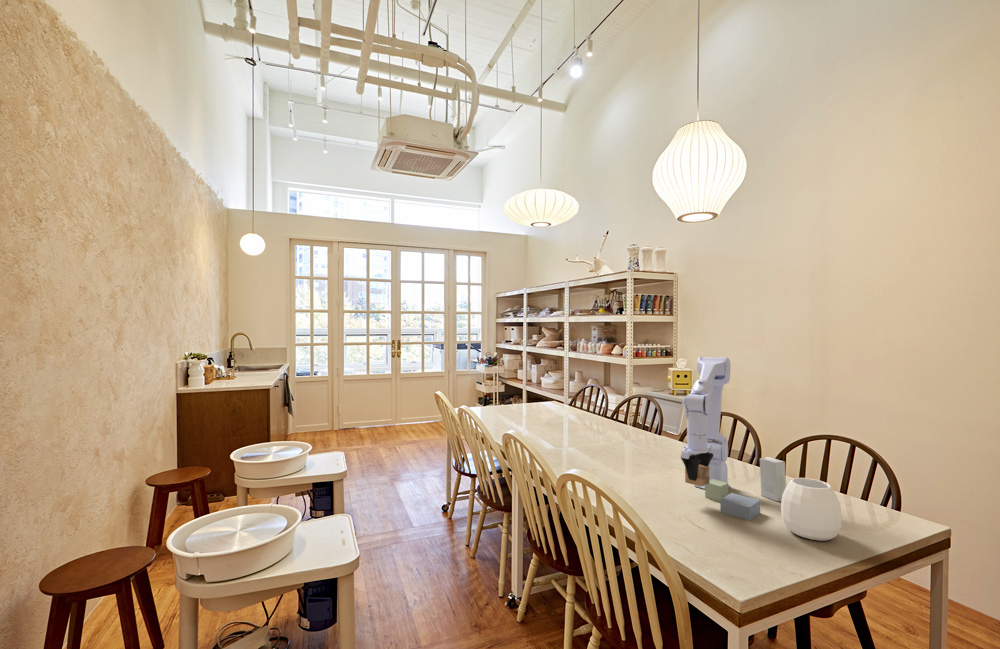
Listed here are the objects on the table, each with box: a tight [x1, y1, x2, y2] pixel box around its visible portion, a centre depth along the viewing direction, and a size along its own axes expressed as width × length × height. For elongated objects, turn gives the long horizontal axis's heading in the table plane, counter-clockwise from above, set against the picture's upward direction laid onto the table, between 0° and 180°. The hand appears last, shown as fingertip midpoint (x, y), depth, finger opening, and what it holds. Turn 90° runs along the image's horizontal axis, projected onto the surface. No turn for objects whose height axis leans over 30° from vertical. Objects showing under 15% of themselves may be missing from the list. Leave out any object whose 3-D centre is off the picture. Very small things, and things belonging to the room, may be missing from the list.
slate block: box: [719, 492, 761, 521], centre depth 136 cm, size 8×8×4 cm
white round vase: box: [780, 477, 843, 542], centre depth 122 cm, size 13×13×14 cm
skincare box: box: [759, 456, 787, 502], centre depth 147 cm, size 6×4×12 cm
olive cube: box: [704, 479, 730, 502], centre depth 147 cm, size 5×5×5 cm
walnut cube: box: [684, 464, 709, 487], centre depth 142 cm, size 5×5×5 cm
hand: (697, 477), depth 142 cm, fingers closed on walnut cube, 5 cm apart
